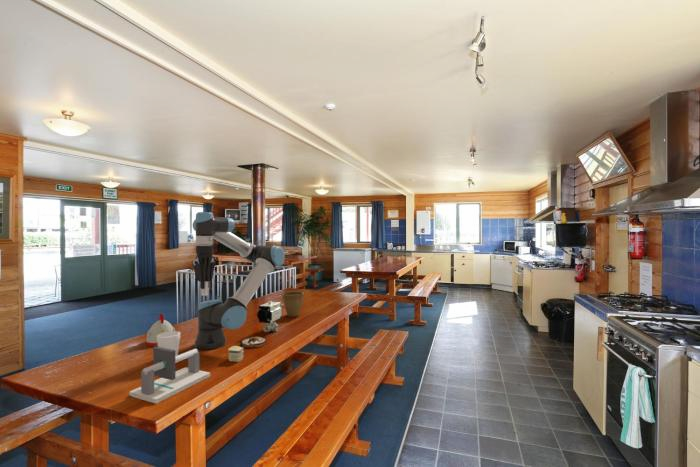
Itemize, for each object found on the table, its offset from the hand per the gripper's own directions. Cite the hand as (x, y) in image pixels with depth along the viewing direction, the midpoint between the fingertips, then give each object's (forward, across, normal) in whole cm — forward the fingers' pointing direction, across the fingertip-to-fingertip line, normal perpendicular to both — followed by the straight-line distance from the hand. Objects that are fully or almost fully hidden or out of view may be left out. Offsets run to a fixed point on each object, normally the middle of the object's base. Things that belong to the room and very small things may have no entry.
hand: (204, 295), depth 158 cm
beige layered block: (+30, +4, -15) cm, 34 cm away
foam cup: (+30, -11, +10) cm, 33 cm away
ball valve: (+30, +48, -2) cm, 56 cm away
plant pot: (+30, +84, +6) cm, 89 cm away
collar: (+25, -29, -11) cm, 40 cm away
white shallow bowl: (+30, +25, -8) cm, 40 cm away
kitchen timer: (+30, +8, +40) cm, 50 cm away
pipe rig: (+29, -26, -11) cm, 41 cm away
